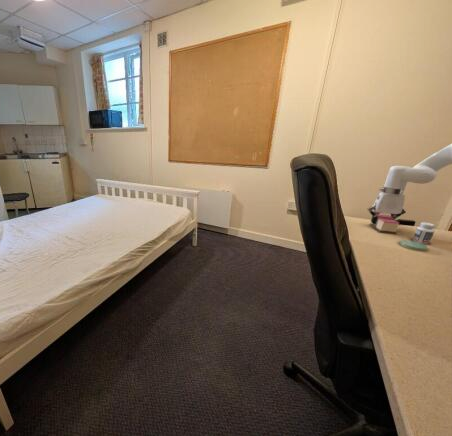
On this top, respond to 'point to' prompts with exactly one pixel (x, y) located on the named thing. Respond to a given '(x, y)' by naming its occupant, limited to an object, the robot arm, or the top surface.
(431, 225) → the pill bottle
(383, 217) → the cake slice
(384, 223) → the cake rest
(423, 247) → the plate
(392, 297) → the top surface
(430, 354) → the top surface
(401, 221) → the knife
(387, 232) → the cake board
